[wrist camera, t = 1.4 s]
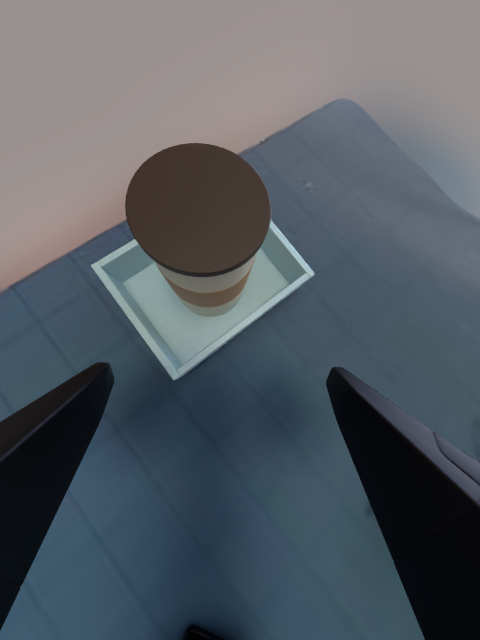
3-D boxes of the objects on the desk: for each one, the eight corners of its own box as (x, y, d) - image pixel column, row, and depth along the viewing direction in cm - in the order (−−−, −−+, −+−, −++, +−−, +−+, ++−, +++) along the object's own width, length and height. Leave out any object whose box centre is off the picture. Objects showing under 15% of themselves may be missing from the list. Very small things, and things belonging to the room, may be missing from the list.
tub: (183, 376, 21) (173, 381, 17) (115, 283, 22) (90, 265, 18) (297, 288, 24) (315, 273, 20) (233, 209, 25) (236, 177, 20)
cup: (225, 330, 22) (233, 299, 10) (162, 299, 22) (94, 229, 10) (254, 271, 23) (293, 182, 11) (195, 241, 23) (171, 120, 11)
